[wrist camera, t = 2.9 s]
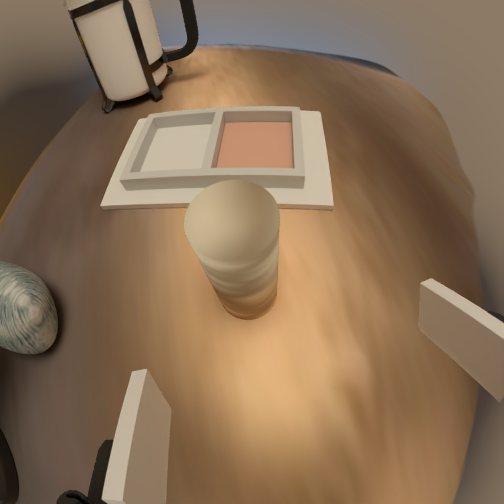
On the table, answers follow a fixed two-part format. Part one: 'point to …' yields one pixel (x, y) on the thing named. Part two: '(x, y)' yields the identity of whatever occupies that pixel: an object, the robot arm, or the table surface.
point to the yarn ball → (25, 311)
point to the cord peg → (237, 244)
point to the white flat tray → (223, 157)
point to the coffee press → (127, 45)
